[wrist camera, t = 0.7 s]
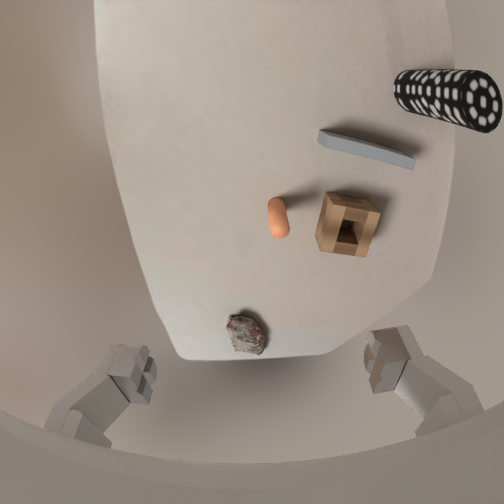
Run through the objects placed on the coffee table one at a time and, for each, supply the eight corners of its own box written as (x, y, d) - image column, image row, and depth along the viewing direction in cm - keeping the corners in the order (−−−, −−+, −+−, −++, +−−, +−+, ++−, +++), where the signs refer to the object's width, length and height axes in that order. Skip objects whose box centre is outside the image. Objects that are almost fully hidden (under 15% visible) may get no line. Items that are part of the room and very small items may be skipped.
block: (325, 192, 51) (333, 204, 46) (369, 200, 52) (380, 213, 47) (314, 235, 56) (320, 251, 51) (356, 241, 56) (365, 257, 51)
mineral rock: (267, 347, 73) (267, 360, 69) (237, 350, 74) (236, 363, 70) (259, 306, 66) (259, 319, 62) (225, 309, 66) (223, 323, 63)
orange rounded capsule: (269, 196, 52) (271, 219, 43) (285, 198, 52) (291, 222, 44) (266, 211, 53) (268, 236, 45) (282, 213, 54) (287, 239, 45)
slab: (319, 130, 45) (328, 135, 40) (399, 150, 46) (416, 159, 41) (317, 140, 46) (325, 147, 41) (397, 160, 47) (413, 170, 42)
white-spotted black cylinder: (392, 66, 38) (460, 63, 21) (430, 74, 38) (502, 80, 21) (393, 110, 42) (459, 127, 25) (430, 115, 42) (500, 137, 25)
